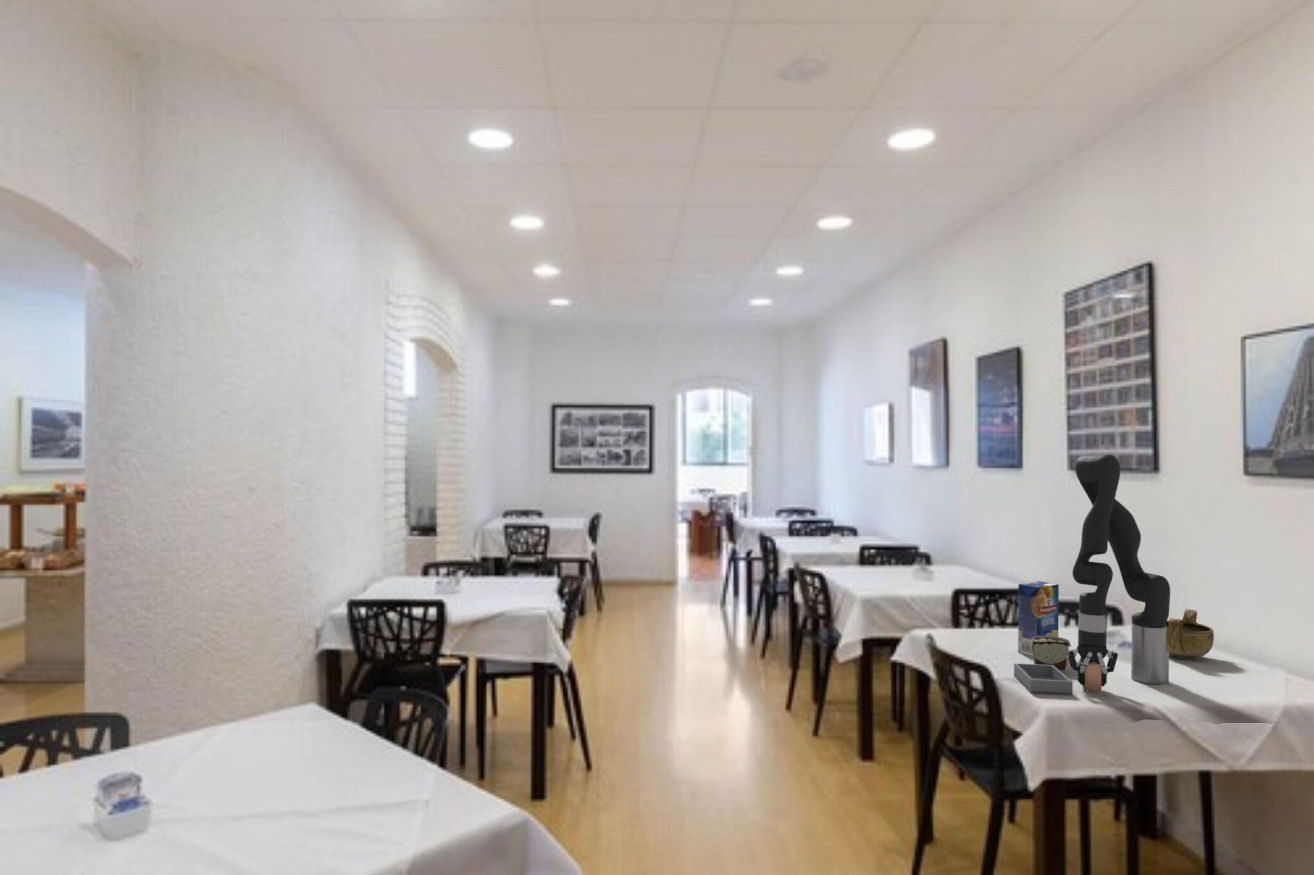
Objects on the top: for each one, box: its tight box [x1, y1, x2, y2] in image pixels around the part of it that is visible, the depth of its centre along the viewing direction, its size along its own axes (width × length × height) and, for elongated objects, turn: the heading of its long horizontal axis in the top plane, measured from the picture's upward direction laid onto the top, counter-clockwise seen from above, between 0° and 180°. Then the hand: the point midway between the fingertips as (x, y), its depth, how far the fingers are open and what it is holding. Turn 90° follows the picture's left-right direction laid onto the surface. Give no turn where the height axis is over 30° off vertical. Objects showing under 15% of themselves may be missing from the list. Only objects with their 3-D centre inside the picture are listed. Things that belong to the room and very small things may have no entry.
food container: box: [1030, 636, 1072, 672], centre depth 267 cm, size 12×6×10 cm, turn 84°
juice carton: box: [1017, 580, 1060, 657], centre depth 286 cm, size 12×8×24 cm, turn 121°
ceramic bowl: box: [1166, 608, 1215, 660], centre depth 281 cm, size 22×17×15 cm
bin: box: [1013, 662, 1074, 696], centre depth 248 cm, size 12×18×4 cm, turn 171°
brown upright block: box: [1082, 662, 1103, 693], centre depth 244 cm, size 5×5×8 cm
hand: (1092, 684), depth 244 cm, fingers closed on brown upright block, 5 cm apart
